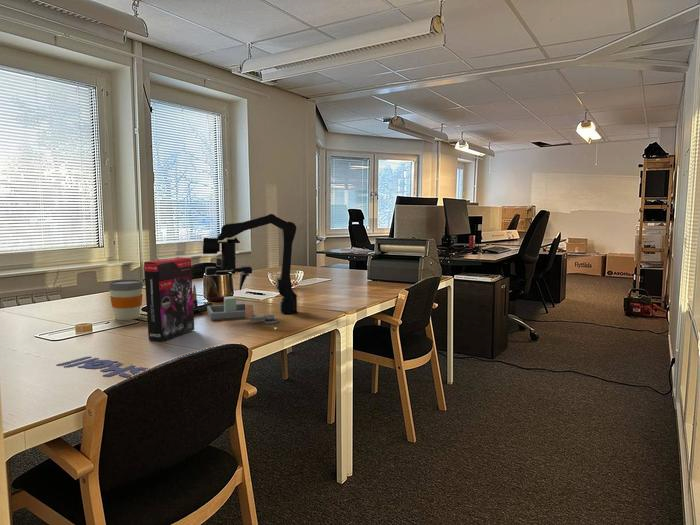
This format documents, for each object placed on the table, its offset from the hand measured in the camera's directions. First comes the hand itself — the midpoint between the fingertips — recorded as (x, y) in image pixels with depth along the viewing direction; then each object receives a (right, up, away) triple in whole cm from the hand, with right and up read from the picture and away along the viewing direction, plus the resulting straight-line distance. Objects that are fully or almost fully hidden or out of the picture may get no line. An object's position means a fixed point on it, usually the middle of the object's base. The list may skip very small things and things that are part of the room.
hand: (229, 290), depth 202 cm
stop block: (0, -10, +1) cm, 10 cm away
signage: (-18, -19, -67) cm, 71 cm away
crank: (+15, -11, -12) cm, 22 cm away
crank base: (+21, -13, -15) cm, 28 cm away
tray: (0, -11, +1) cm, 11 cm away
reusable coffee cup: (-40, -11, -5) cm, 42 cm away
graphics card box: (-13, -14, -32) cm, 37 cm away
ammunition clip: (-20, -10, +5) cm, 23 cm away
